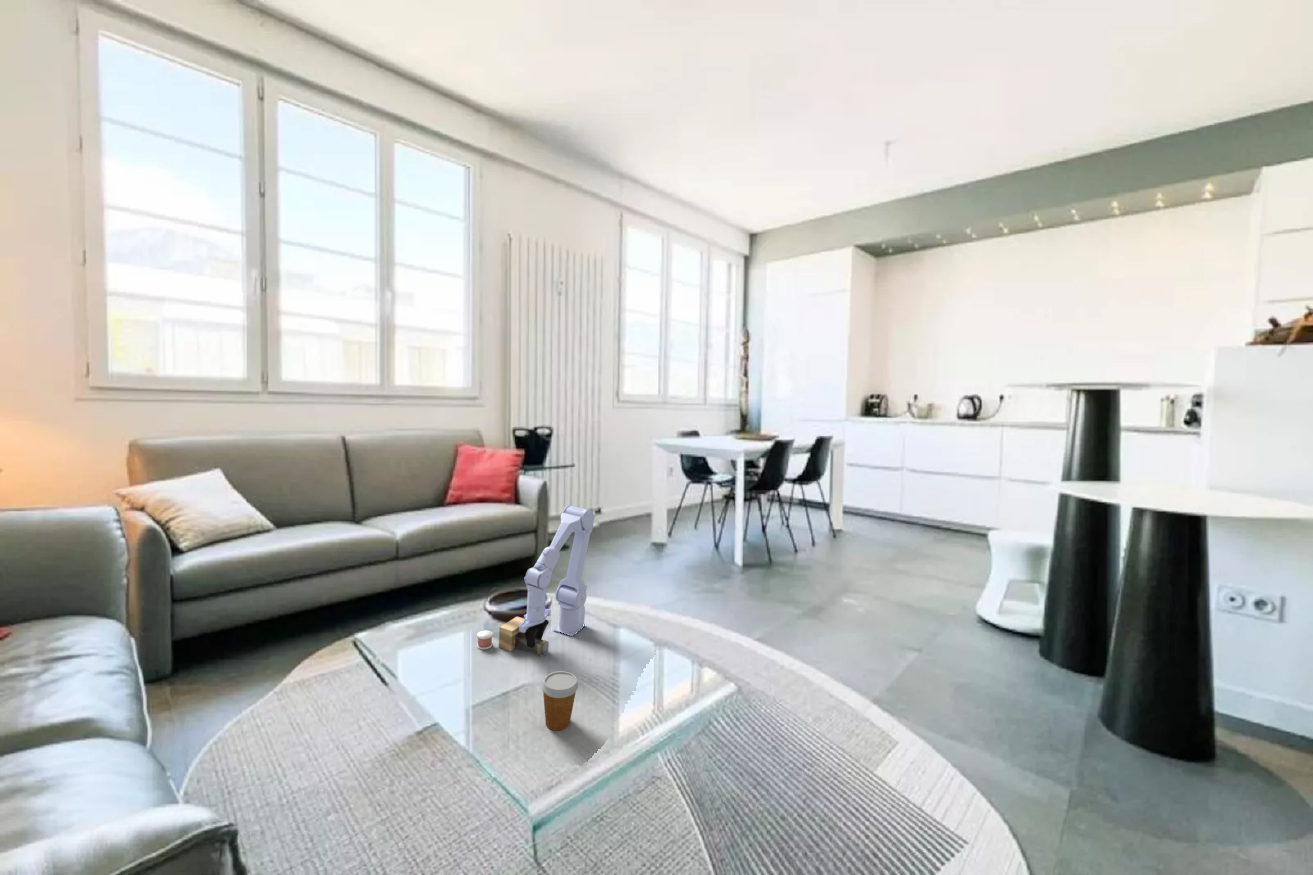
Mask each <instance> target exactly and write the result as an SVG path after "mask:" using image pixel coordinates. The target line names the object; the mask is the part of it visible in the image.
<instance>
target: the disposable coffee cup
mask: <svg viewBox="0 0 1313 875" xmlns="http://www.w3.org/2000/svg"><path fill="white" fill-rule="evenodd" d="M540 686H541V691H542V693H543V707H544V708H543V709H544V717H545V718H544V720H545V725H546V727H547V728H548V729H550V730H552V731H561V730H565V729H567V728H568V727H569V726H570V723H571V718H572V714H573V708H574V702H575V699H576V692H577V690H578V688H579V681H578V680H577V676H576V675H575V674H573V673H571V672H569V671H563V670H561V671H559V670H557V671H554V672H550V673H548V674H547V675H545V677H544V678H543V681H542V682H541V685H540Z"/></svg>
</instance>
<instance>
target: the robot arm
mask: <svg viewBox="0 0 1313 875" xmlns="http://www.w3.org/2000/svg"><path fill="white" fill-rule="evenodd" d="M595 517H596V516H595V514H594V513H593V511H592V510H591V509H587V508H582V507H577V506H575V505H574V506H573V505H571V504H568V505H566V506H565V507H564V508H563V511H562V513H561V514H560V524H559V526H558V529H557V530H556V533H555V534H554V537H553V539H552V541H551V543H550V544H549V546H547V547H545V548H544V549H542V552H541V554H540V556H539V557H538V559H537V561H536V563H535V564H534V566H533V567H531V568H528V569H527V571H526V573H525V576H524V577H523V578H524V583H525V585H526V590H527V600H526V601H527V602H526V614H524V615H523V618H524V621H523V622H522V624H521V625H520V626H519V632H523V633H524V635H525V638H526V642H527V646H528V647H530V648H533V647H534V645H535V638H538V639H541V640H543V635H544V634H545V630H546V628H547V626H548V625H549V624H550V622H549V621H550V620H548V619H547V617H550V616H552V615H551V614H552V613H551V612H552V610H551V609H548V608H546V597H547V595H546V594H547V587H548V586H549V585H550V583H551V579H552V575H553V569H554V568H555V566H556V564H557V563H558V561H559V559H560V557H561V554H560V551H561V549H562V547H563V546H564V544H566V542H567V540H569V537H570V536H571V534H572V533H574V536H573V540H572V548H571V551H570V557H569V563H568V567H567V572H566V576H565V577H564V578H562V579H560V581H559V584H558V586H557V589H555V590H556V591H555V593H554V595H555V600H556V601H557V602H558V606H559V617H558V625H557V626H556V627H555V628H553V631H554V632H558V633H560V632H561V633H560V634H563V633H564V634H563V635H566V634H567V636H569V635H570V637H574V636H575V635H576V634H577V633H576V632H578V631H579V630H580V629H581V628H583V627H584V626H585V624H586V623H585V615H586V613H585V612H586V608H585V603H586V601H587V589H588V588H587V585H586V584H585V582H584V581H583V580H582V577H583V572H584V567H585V562H586V557H587V551H588V546H589V542H590V536H591V534H592V532H593V529H594V528H593V527H594V523H595ZM583 624H584V626H583ZM585 627H586V626H585ZM585 627H584V628H585ZM584 628H583V629H584ZM581 630H582V629H581ZM581 630H580V631H581ZM580 631H579V632H580ZM579 632H578V633H579ZM575 633H576V634H575ZM574 634H575V635H574ZM573 635H574V636H573Z"/></svg>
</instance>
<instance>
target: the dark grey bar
mask: <svg viewBox="0 0 1313 875" xmlns="http://www.w3.org/2000/svg"><path fill="white" fill-rule="evenodd" d="M515 648H517V649H520V650H523V651H525V652H529V653H531V654H535V655H539V656H541V657H544V656H545V655H546V654H547V653H549V648H550V642H549V641H547V640H545V639H542V640H541V639H538V638H535V645H534V647H533V648H530V647H528V646H527V642H526V638H525V635H524V634H522V633H517V634H516V635H515Z"/></svg>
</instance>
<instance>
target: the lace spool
mask: <svg viewBox="0 0 1313 875" xmlns="http://www.w3.org/2000/svg"><path fill="white" fill-rule="evenodd" d="M493 636H494V632H493V631H492V630H481V631H478V632H477V633H476V637H477V643H476V648H477V649H478V650H489V649H491V648H492V647H493Z"/></svg>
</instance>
